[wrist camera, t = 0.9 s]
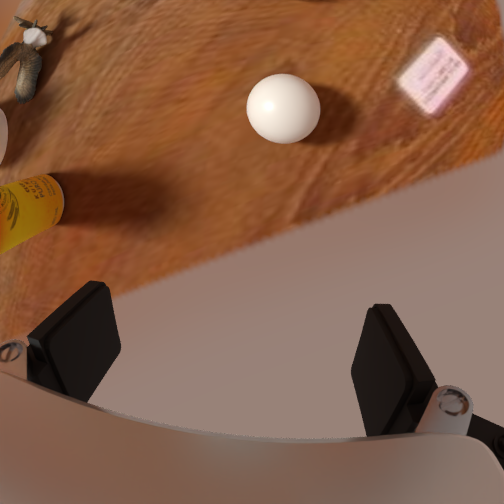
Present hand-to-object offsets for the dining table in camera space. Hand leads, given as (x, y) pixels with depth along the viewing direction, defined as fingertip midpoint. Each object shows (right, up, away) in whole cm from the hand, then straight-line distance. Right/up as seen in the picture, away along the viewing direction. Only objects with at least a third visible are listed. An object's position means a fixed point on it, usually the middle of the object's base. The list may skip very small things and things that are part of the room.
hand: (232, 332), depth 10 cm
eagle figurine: (-25, +25, +12) cm, 37 cm away
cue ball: (+3, +13, +10) cm, 17 cm away
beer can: (-22, +9, +18) cm, 30 cm away
